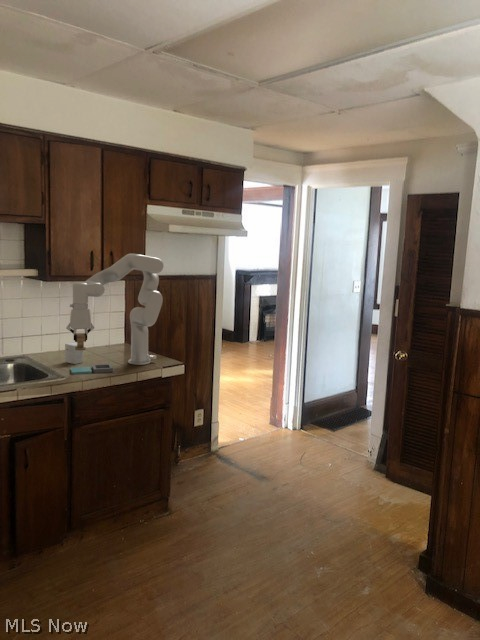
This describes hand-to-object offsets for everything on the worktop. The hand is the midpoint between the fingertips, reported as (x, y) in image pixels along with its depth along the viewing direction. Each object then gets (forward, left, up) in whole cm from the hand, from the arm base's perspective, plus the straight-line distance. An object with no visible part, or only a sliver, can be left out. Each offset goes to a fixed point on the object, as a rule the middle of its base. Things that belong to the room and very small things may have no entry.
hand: (80, 341), depth 275 cm
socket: (-11, 0, -16) cm, 20 cm away
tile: (0, 0, -16) cm, 16 cm away
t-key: (0, 0, -4) cm, 4 cm away
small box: (+2, -21, -16) cm, 26 cm away
